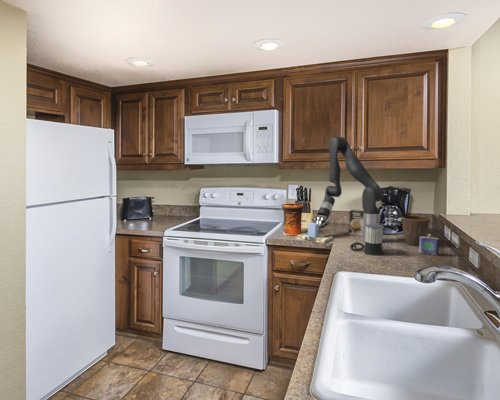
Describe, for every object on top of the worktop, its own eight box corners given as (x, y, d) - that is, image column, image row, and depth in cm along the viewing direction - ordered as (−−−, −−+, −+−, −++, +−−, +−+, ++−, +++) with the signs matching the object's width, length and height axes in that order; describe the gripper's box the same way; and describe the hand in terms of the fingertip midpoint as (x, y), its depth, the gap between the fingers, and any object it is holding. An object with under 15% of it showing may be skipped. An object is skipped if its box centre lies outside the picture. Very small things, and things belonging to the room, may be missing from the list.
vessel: (281, 235, 225) (281, 205, 223) (281, 231, 239) (282, 202, 238) (303, 236, 224) (304, 205, 222) (302, 232, 238) (303, 203, 236)
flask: (418, 253, 182) (419, 233, 181) (419, 252, 184) (420, 232, 183) (438, 256, 177) (439, 235, 175) (438, 255, 179) (440, 234, 178)
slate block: (318, 236, 214) (319, 223, 213) (315, 237, 210) (315, 224, 209) (311, 235, 217) (311, 222, 216) (307, 236, 213) (308, 223, 212)
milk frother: (384, 256, 177) (385, 227, 175) (352, 254, 180) (353, 226, 178) (378, 249, 191) (380, 222, 189) (349, 247, 194) (350, 221, 192)
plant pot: (425, 249, 191) (427, 220, 189) (397, 245, 200) (398, 218, 198) (430, 244, 203) (432, 217, 201) (403, 240, 212) (404, 214, 210)
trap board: (332, 239, 214) (332, 236, 214) (324, 243, 205) (324, 239, 205) (306, 235, 225) (306, 232, 225) (297, 238, 216) (297, 235, 216)
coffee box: (348, 234, 229) (349, 210, 227) (350, 233, 234) (351, 209, 232) (362, 236, 224) (363, 211, 223) (364, 234, 230) (365, 210, 228)
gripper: (314, 205, 225) (304, 227, 217) (333, 207, 217) (323, 229, 209) (317, 213, 230) (308, 234, 222) (336, 215, 222) (327, 237, 214)
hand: (315, 232), depth 215 cm, fingers closed
